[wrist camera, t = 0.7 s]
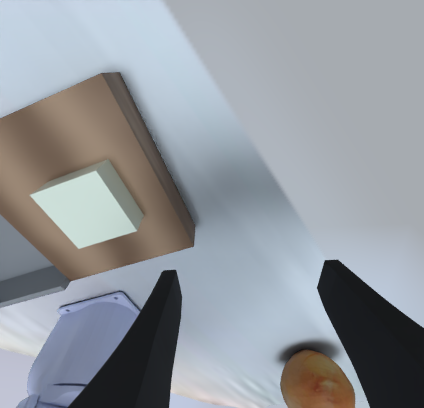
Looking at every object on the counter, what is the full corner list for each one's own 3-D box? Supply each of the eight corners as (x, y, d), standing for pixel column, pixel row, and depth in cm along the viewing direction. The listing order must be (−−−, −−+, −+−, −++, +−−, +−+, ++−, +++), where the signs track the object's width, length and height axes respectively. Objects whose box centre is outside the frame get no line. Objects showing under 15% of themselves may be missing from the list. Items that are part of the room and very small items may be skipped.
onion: (339, 358, 38) (378, 443, 29) (283, 372, 40) (304, 454, 31) (328, 332, 33) (370, 423, 25) (265, 348, 35) (284, 437, 27)
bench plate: (85, 258, 24) (70, 281, 22) (-28, 137, 17) (-69, 149, 15) (195, 225, 22) (193, 246, 19) (119, 72, 15) (101, 73, 12)
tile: (90, 232, 18) (78, 248, 17) (48, 181, 16) (29, 195, 14) (143, 215, 18) (137, 231, 16) (108, 159, 15) (95, 170, 13)
